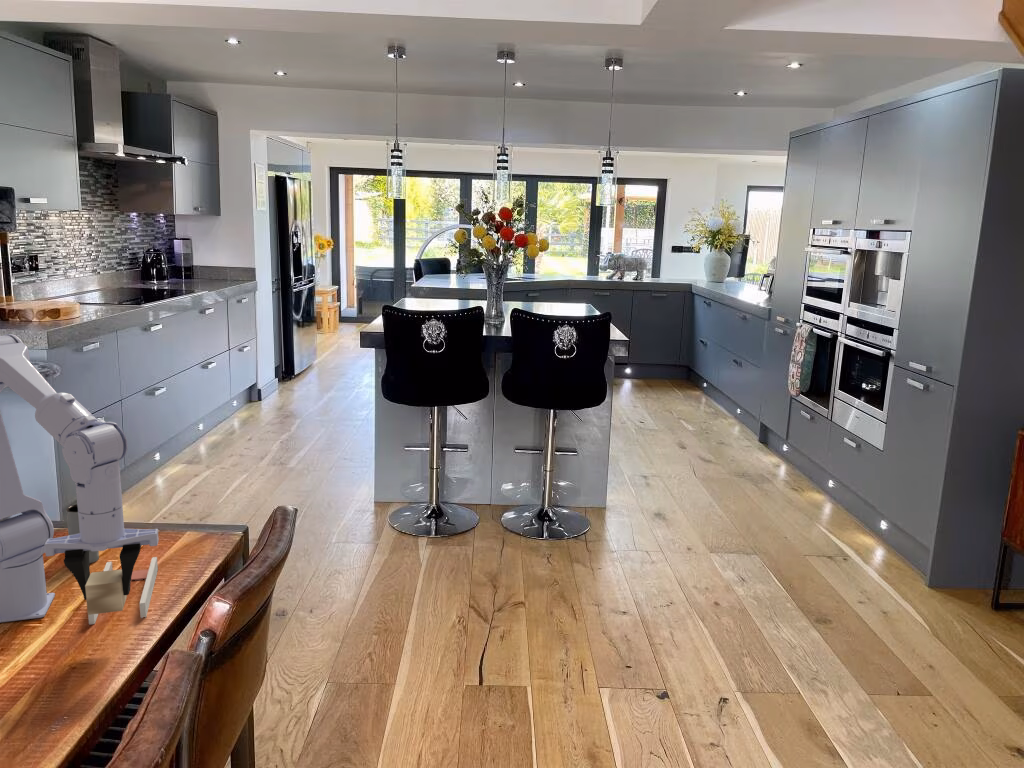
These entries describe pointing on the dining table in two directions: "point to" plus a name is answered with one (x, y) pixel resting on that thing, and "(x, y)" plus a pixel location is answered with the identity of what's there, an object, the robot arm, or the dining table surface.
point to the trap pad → (139, 574)
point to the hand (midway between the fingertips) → (107, 594)
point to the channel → (146, 591)
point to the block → (105, 592)
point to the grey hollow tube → (74, 529)
